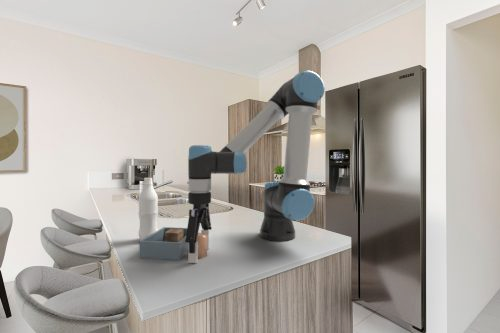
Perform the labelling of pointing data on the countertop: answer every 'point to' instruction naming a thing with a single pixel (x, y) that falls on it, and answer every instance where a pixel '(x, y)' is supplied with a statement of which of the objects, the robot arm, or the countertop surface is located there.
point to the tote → (163, 246)
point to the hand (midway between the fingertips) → (199, 254)
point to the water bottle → (148, 209)
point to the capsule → (202, 245)
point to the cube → (174, 235)
